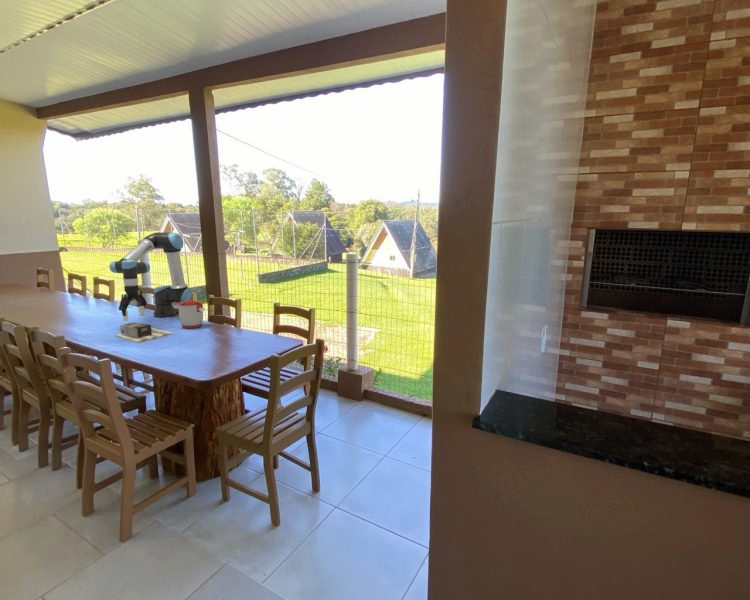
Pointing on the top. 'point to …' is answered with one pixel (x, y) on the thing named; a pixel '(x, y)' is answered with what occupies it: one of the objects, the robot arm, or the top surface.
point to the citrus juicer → (191, 313)
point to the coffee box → (135, 329)
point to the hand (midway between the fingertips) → (134, 318)
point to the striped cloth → (155, 334)
